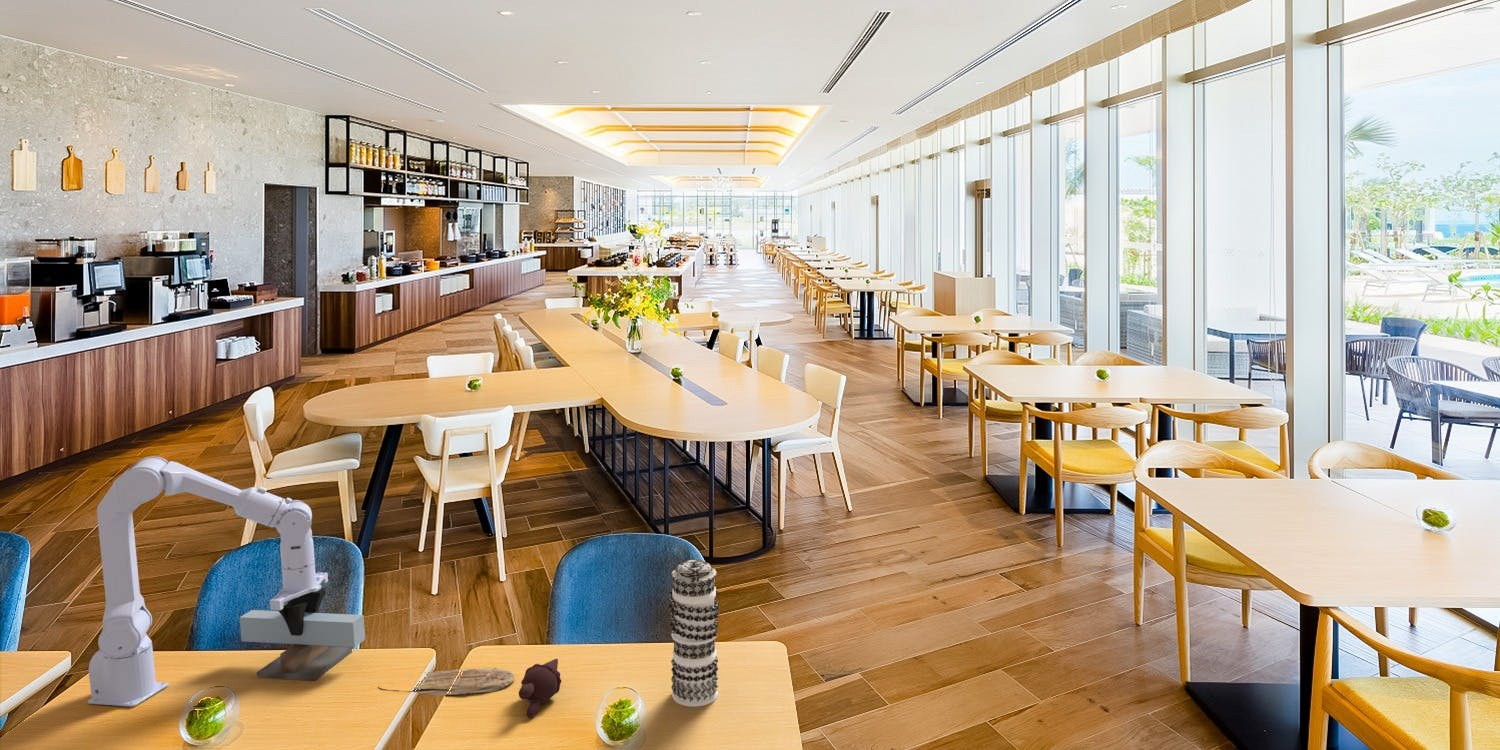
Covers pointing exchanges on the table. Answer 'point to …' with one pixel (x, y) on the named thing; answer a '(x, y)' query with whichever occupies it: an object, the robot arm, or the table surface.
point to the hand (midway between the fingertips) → (303, 630)
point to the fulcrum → (304, 662)
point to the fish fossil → (465, 681)
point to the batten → (315, 629)
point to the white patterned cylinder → (694, 633)
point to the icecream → (539, 685)
